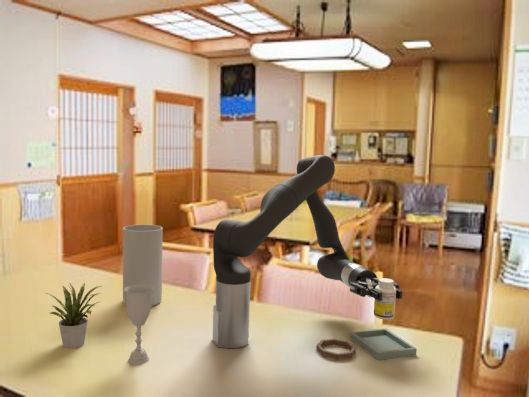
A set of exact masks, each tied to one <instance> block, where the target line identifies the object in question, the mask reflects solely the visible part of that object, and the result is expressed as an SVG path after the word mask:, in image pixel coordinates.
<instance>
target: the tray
mask: <svg viewBox="0 0 529 397" xmlns="http://www.w3.org/2000/svg"><path fill="white" fill-rule="evenodd" d="M349 338H350V340H352V341H353V342H354V343H356V344H357V345H358V346H360V347H361V348H362V349H363V350H365V352H367V353H369V354H370V356H372V357H373V358H374V359H376V360H378V361H381V360H389V359H397V358H404V357H405V358H406V357H413V356H417V352H418V350H417V348H416V347H415V346H413V345H412V344H411V343H409V342H408V341H406V340H405V339H403V338H402V337H400V336H398V335H396V334H395V333H393V332H392V331H390V330H389V329H388V328H378V329H368V330H359V331H357V330H356V331H350V333H349Z"/></svg>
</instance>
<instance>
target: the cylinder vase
mask: <svg viewBox="0 0 529 397" xmlns="http://www.w3.org/2000/svg"><path fill="white" fill-rule="evenodd" d="M122 228H123V229H122V238H123V239H122V251H123V252H122V302H123V304H125V306H127V294H126V292H125V290H124V289H125V288H126V287H128V286H131V285H136V284H146V285H151V286H153V287H154V289H153V291H152V294H151V307H153V306H156V305H158V304H160V303H161V302H162V297H163V296H162V295H163V292H162V291H163V229H164V228H163V227H162V226H161V225H156V224H131V225H130V224H129V225H126V226H123V227H122Z"/></svg>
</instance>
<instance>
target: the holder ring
mask: <svg viewBox="0 0 529 397" xmlns="http://www.w3.org/2000/svg"><path fill="white" fill-rule="evenodd" d="M329 346H337V347H342V348H346V349H347V350H348V352H347V351H346V352H333V351H330V350H325V348H323V347H329ZM316 352H317V353H318V354H320V356H321V357H322V358H327V359H330V360H335V361H344V360H350V359H353V358H354V356H355V354H356V353H357V347H356V346H355V345H354V344H352V343H351V342H350V341H349V340H343V339H339V338H329V339H321V340H320V341H319V342H318V343H316Z"/></svg>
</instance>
